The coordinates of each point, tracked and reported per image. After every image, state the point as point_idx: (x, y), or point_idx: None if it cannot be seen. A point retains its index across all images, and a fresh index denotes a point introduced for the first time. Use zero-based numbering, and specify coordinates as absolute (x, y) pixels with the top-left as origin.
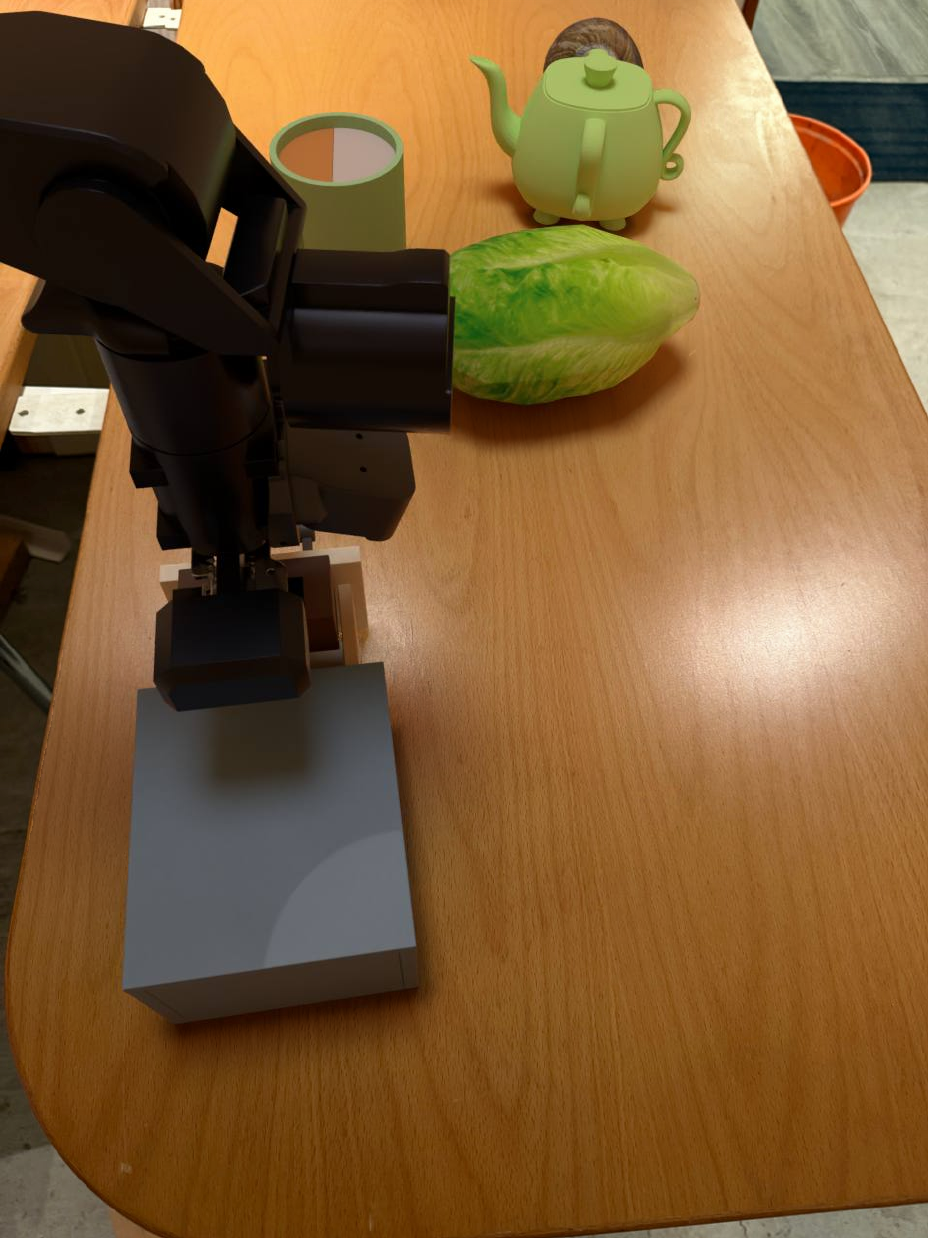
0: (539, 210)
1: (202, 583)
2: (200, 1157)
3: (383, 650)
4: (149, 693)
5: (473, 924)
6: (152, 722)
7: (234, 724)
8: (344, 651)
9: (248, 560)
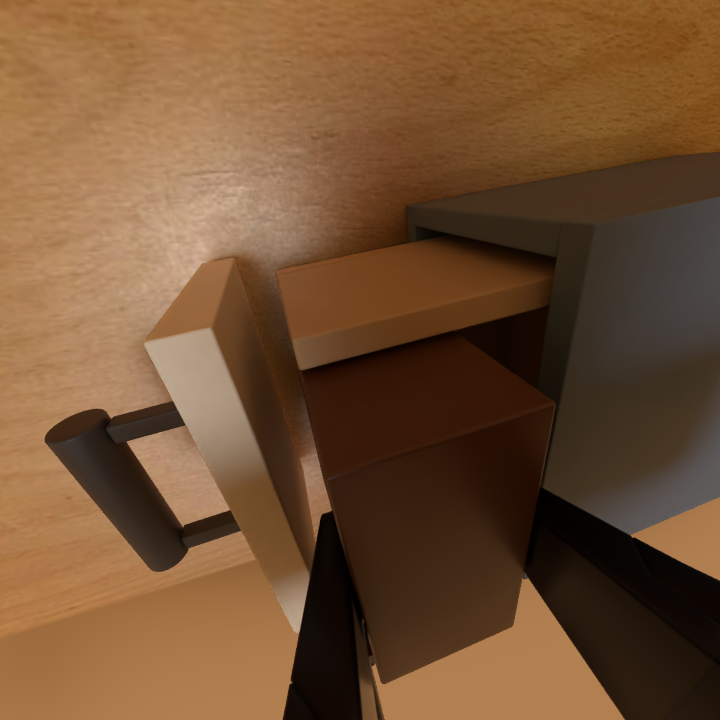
0: None
1: (420, 649)
2: None
3: (259, 226)
4: None
5: (649, 76)
6: None
7: (614, 468)
8: (483, 321)
9: (360, 623)
